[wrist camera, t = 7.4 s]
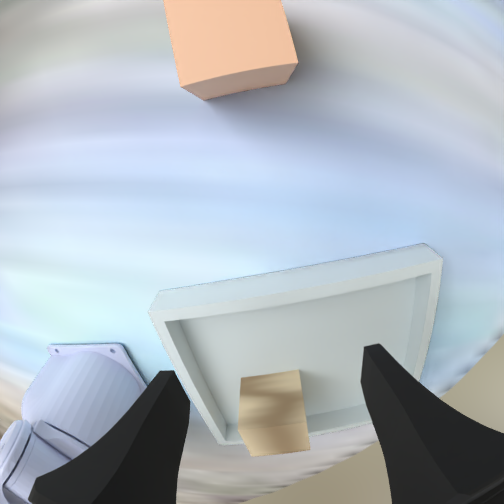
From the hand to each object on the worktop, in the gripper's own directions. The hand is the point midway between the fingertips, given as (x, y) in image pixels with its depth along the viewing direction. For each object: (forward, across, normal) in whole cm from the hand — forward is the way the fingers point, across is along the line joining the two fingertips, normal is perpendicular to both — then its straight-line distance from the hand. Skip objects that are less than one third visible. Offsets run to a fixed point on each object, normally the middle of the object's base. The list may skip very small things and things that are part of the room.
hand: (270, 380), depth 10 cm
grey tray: (+8, -2, +8) cm, 12 cm away
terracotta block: (+9, -1, -13) cm, 16 cm away
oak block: (+8, +1, +10) cm, 13 cm away
